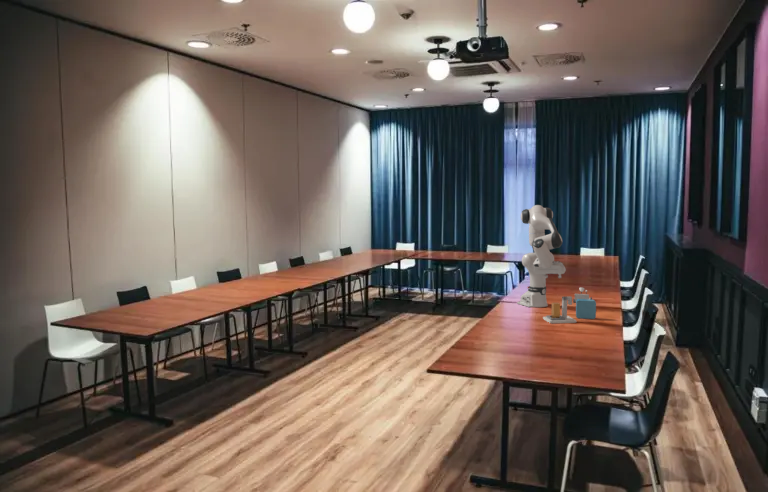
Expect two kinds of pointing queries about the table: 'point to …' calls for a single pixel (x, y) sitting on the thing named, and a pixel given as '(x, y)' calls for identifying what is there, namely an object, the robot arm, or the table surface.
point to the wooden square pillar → (555, 310)
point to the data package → (585, 309)
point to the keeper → (564, 317)
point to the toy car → (581, 295)
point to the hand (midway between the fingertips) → (553, 277)
